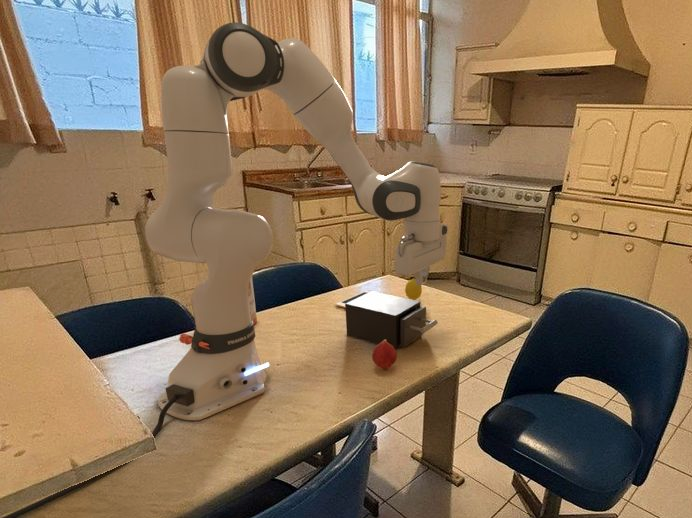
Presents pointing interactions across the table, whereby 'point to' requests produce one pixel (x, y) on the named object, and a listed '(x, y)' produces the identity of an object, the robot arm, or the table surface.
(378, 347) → the onion
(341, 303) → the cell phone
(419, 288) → the lemon
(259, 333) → the table surface
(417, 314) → the drawer
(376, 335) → the cabinet
